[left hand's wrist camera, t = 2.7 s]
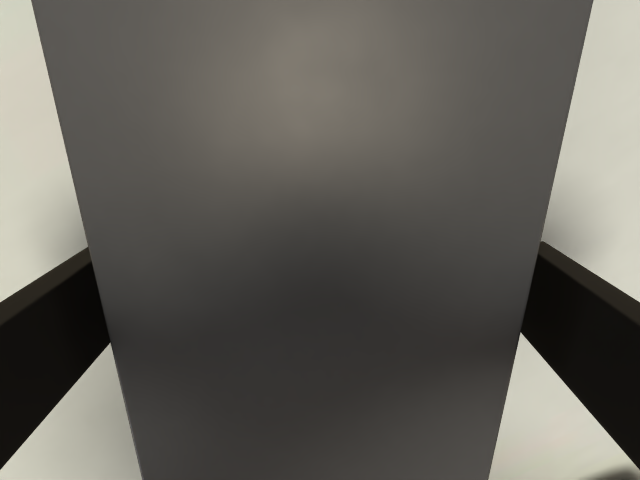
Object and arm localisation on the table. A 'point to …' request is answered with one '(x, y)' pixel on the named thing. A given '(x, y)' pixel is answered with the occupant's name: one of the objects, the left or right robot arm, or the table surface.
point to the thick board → (313, 220)
